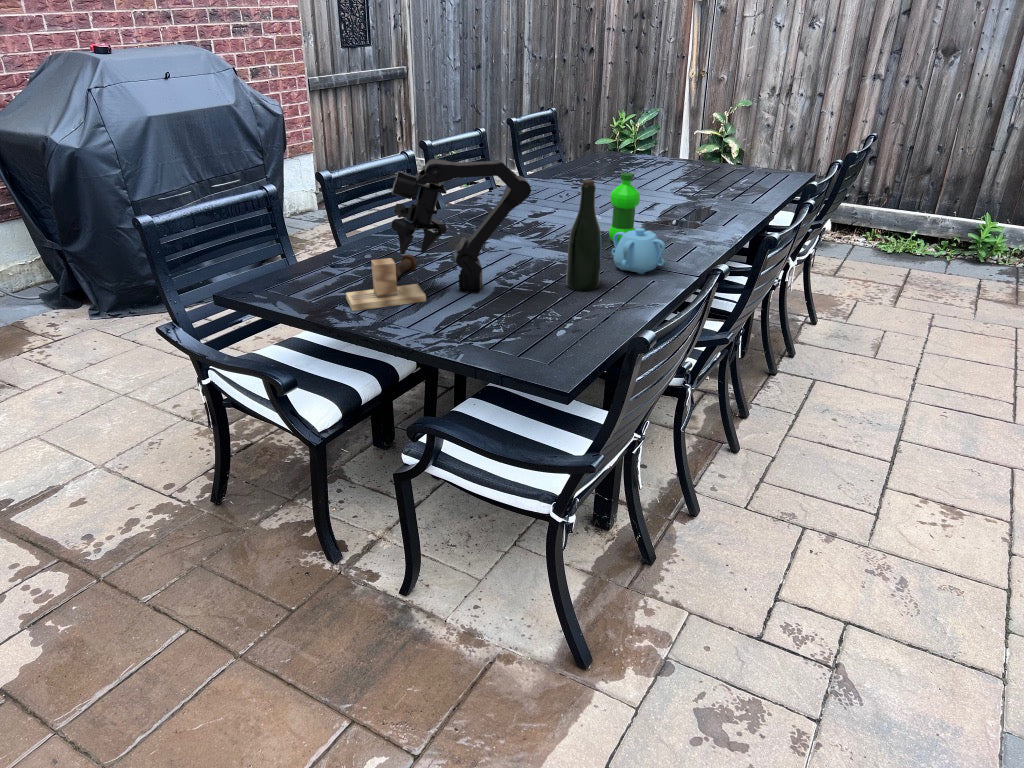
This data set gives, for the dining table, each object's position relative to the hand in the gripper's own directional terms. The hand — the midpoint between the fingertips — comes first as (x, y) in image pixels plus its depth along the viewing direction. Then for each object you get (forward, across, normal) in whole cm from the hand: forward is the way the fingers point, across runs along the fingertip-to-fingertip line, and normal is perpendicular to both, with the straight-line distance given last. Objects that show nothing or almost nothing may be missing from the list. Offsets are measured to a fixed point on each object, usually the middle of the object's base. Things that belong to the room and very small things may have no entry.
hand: (412, 253), depth 223 cm
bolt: (+14, -10, -11) cm, 20 cm away
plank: (+14, +8, +1) cm, 16 cm away
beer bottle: (-4, -38, +39) cm, 54 cm away
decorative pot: (-11, -62, +44) cm, 77 cm away
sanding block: (+12, +8, +1) cm, 15 cm away
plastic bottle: (-12, -83, +26) cm, 87 cm away
